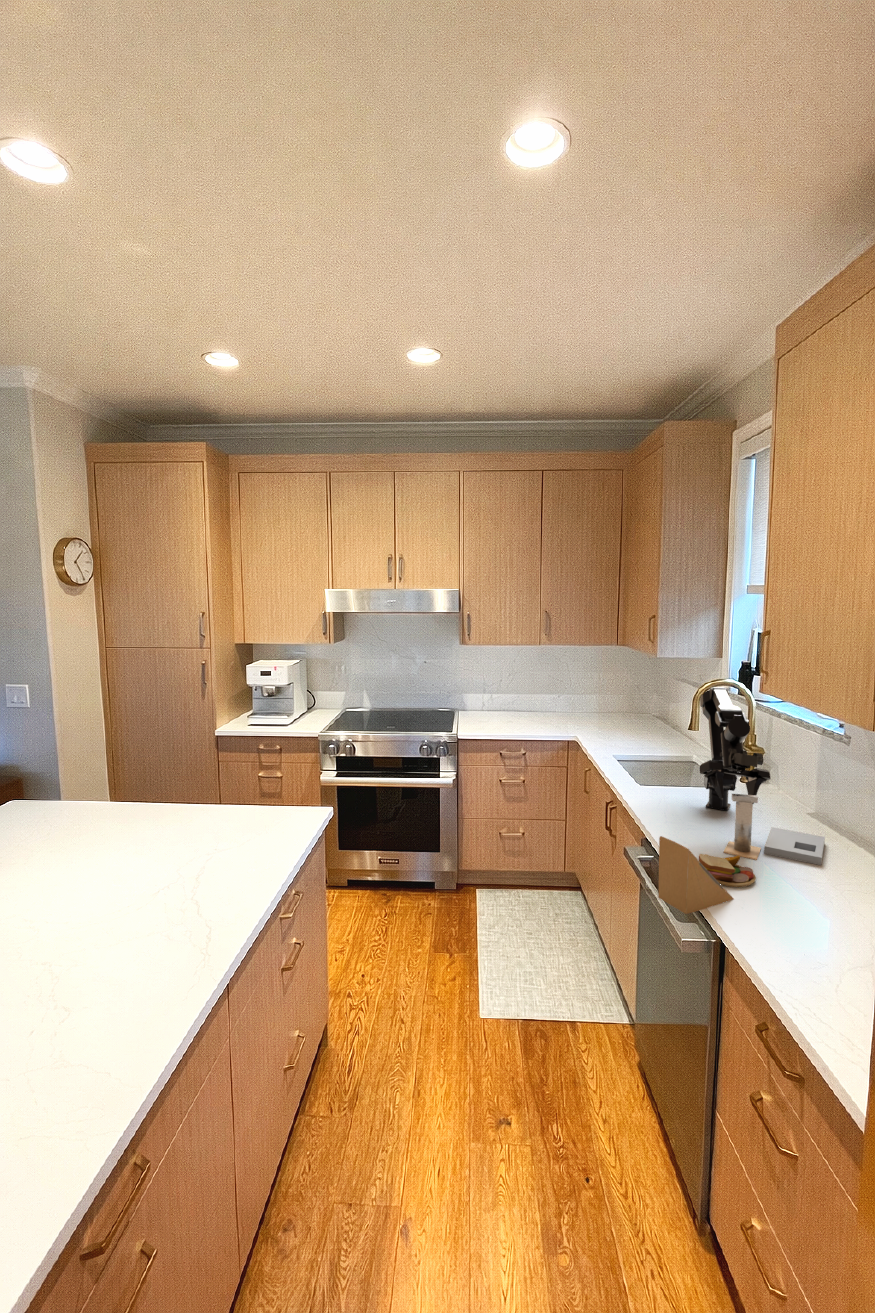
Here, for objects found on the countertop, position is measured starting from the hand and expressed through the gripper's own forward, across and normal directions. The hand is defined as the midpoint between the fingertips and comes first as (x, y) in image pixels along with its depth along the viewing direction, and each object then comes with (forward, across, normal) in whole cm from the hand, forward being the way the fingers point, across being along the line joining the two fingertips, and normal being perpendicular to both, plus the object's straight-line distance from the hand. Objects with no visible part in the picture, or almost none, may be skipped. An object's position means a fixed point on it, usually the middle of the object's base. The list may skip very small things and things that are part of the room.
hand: (737, 801), depth 173 cm
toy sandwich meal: (+24, -13, -13) cm, 30 cm away
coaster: (+14, -1, -2) cm, 14 cm away
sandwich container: (+30, -25, -20) cm, 44 cm away
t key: (+14, -1, -2) cm, 14 cm away
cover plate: (+11, +13, -4) cm, 18 cm away
